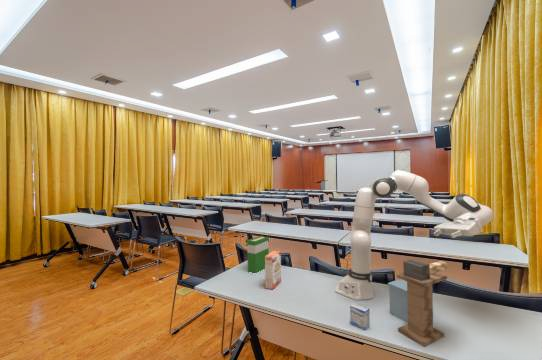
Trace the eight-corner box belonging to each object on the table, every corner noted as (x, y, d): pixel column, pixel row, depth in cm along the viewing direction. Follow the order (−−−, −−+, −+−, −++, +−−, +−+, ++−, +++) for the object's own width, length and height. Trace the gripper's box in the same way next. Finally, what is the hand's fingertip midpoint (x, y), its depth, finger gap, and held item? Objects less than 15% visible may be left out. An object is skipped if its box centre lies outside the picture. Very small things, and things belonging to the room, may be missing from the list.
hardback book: (261, 265, 206) (260, 235, 206) (269, 266, 202) (268, 236, 202) (247, 272, 192) (247, 240, 191) (255, 274, 188) (254, 241, 187)
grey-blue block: (409, 304, 138) (409, 276, 138) (430, 314, 128) (429, 283, 128) (388, 312, 130) (387, 282, 130) (408, 323, 120) (407, 291, 120)
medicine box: (349, 323, 122) (349, 305, 122) (354, 319, 125) (354, 302, 125) (365, 330, 116) (365, 311, 116) (370, 326, 119) (369, 308, 119)
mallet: (434, 265, 124) (434, 253, 124) (452, 270, 117) (452, 257, 117) (403, 274, 114) (403, 261, 114) (421, 281, 107) (420, 266, 106)
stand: (421, 320, 122) (420, 267, 122) (448, 334, 112) (446, 275, 112) (397, 331, 115) (396, 274, 115) (424, 346, 104) (422, 283, 104)
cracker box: (273, 290, 160) (272, 257, 160) (264, 288, 163) (264, 256, 162) (281, 281, 173) (281, 251, 173) (273, 280, 175) (273, 250, 175)
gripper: (444, 218, 137) (423, 228, 134) (481, 218, 117) (458, 230, 114) (448, 229, 136) (428, 239, 133) (487, 231, 116) (464, 243, 113)
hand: (442, 235), depth 123 cm, fingers open, 8 cm apart
